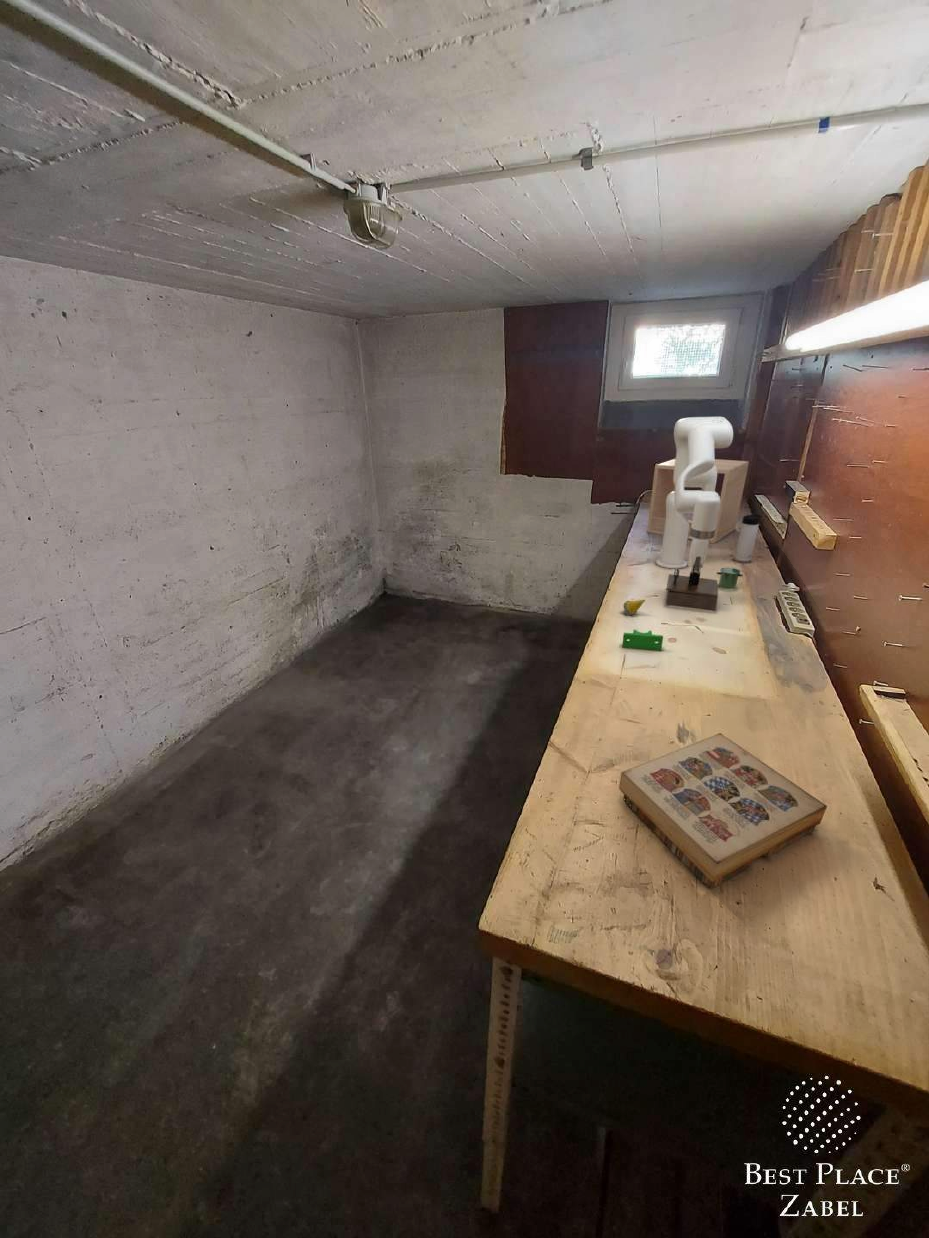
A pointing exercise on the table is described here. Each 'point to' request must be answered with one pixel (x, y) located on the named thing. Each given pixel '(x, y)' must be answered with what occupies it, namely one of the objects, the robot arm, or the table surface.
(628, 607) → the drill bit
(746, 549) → the travel mug
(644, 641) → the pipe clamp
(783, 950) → the table surface
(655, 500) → the storage cube
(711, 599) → the chest
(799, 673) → the table surface
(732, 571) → the pot
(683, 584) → the chest lid
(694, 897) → the table surface
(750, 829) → the beige printed box
